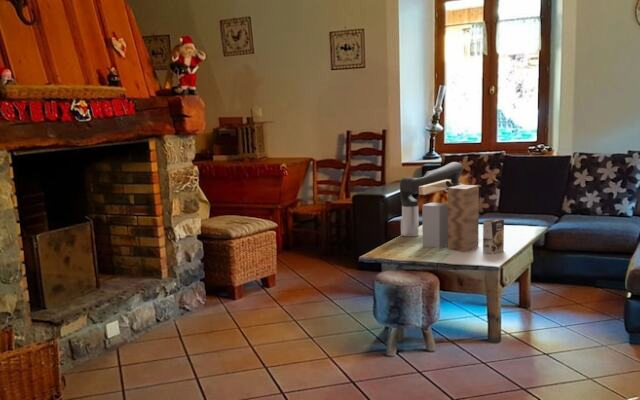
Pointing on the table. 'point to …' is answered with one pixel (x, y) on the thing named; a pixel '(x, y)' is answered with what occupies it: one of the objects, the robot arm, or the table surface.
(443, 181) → the bar
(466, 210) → the tall pedestal
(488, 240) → the coffee box
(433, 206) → the base pedestal
